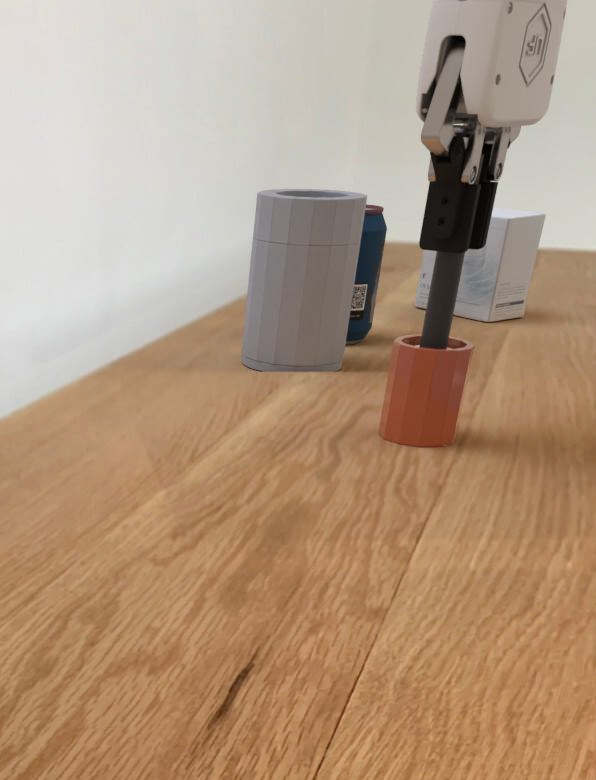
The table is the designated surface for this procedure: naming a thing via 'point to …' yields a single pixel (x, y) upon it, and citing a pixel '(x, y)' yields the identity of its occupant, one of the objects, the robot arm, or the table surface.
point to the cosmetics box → (493, 268)
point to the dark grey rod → (443, 295)
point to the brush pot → (425, 392)
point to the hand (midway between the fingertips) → (451, 246)
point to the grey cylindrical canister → (301, 279)
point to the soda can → (367, 274)
